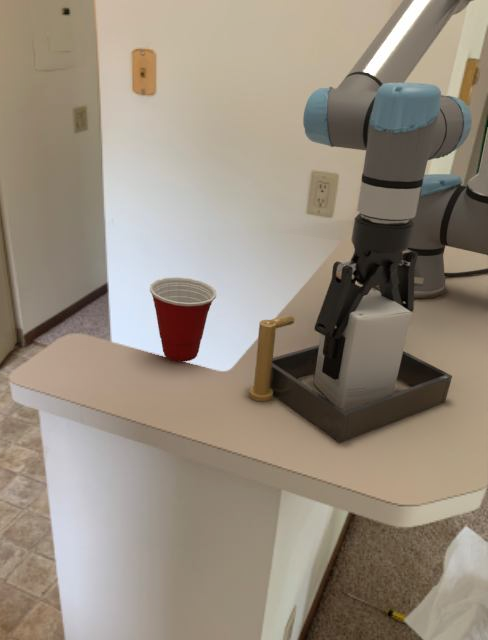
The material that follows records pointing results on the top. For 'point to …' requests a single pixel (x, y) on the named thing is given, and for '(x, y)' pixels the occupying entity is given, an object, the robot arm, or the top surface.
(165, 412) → the top surface
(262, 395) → the sink
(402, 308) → the rectangular carton
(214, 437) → the top surface
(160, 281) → the plastic cup
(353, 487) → the top surface
